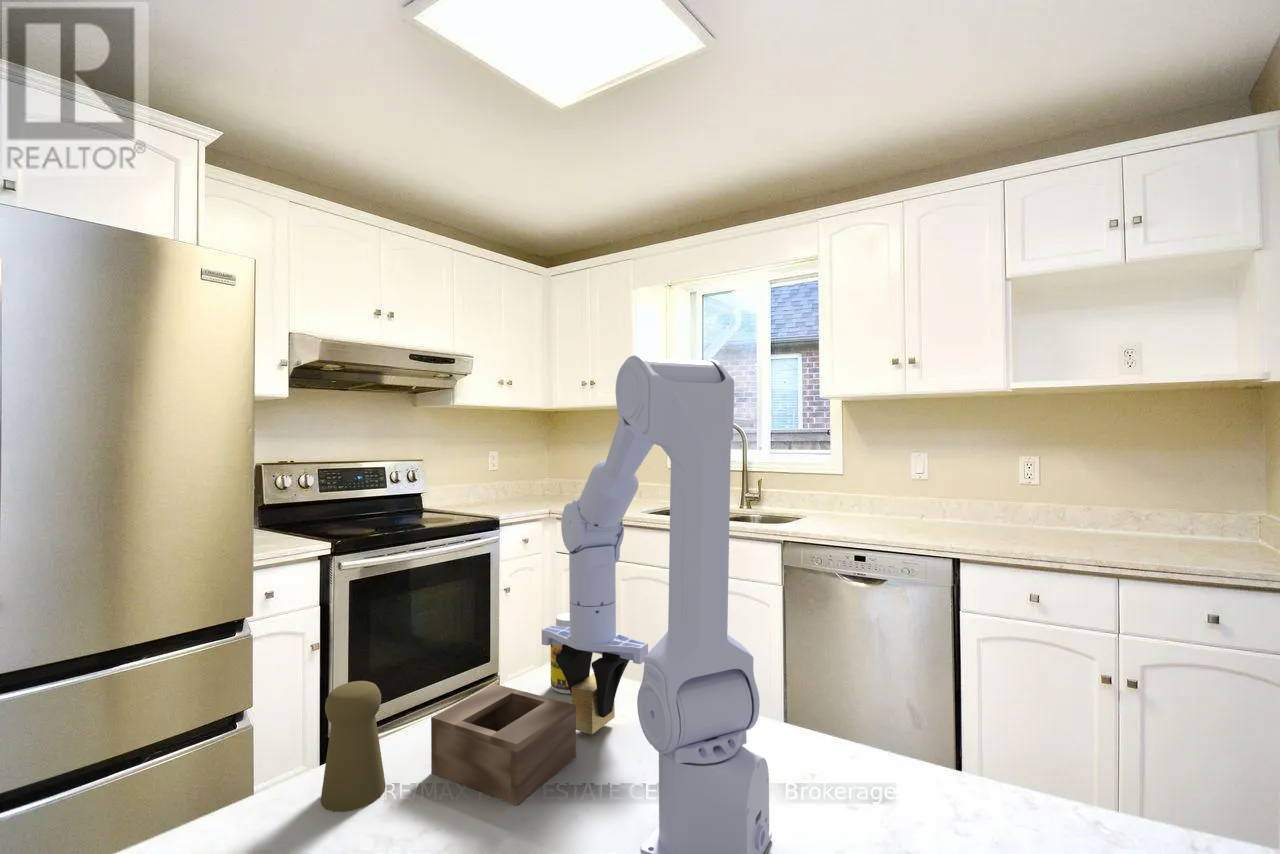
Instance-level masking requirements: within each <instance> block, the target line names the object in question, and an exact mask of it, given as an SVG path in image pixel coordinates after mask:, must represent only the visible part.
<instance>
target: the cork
mask: <svg viewBox="0 0 1280 854" xmlns="http://www.w3.org/2000/svg"><path fill="white" fill-rule="evenodd" d="M381 704H382V693H381V690H380V688H379V687H378V686H377V684H376V683H375V682H371V681H367V680H356V681H350V682H346V683H343V684H340V685H338V686H336V687H335V688H334V689H332V690H331V691H330V693H329V694H328V696H327V697H326V700H325V703H324V710H325V715H326V718H327V720H328V722H329V723H330V729H329V736H328V737H329V738H328V745H327V753H326V758H325V766H324V774H323V782H322V787H321V793H320V794H321V795H320V805H321V807H322V808H323V809H325V810H326V811H330V812H333V813H334V812H336V813H339V812H340V813H344V812H351V811H355V810H358V809H362V808H365V807H366V806H368V805H371V804H372V803H375V802H376V801H377V800H378V799H380V798H381V797H382V796H383V794H384V793H385V791H386V787H387V786H386V781H385V780H386V779H385V772H384V765H383V764H384V763H383V759H382V751H381V745H380V744H381V743H380V738H379V731H378V725H377V713H379V711H380V707H381Z"/></svg>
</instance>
